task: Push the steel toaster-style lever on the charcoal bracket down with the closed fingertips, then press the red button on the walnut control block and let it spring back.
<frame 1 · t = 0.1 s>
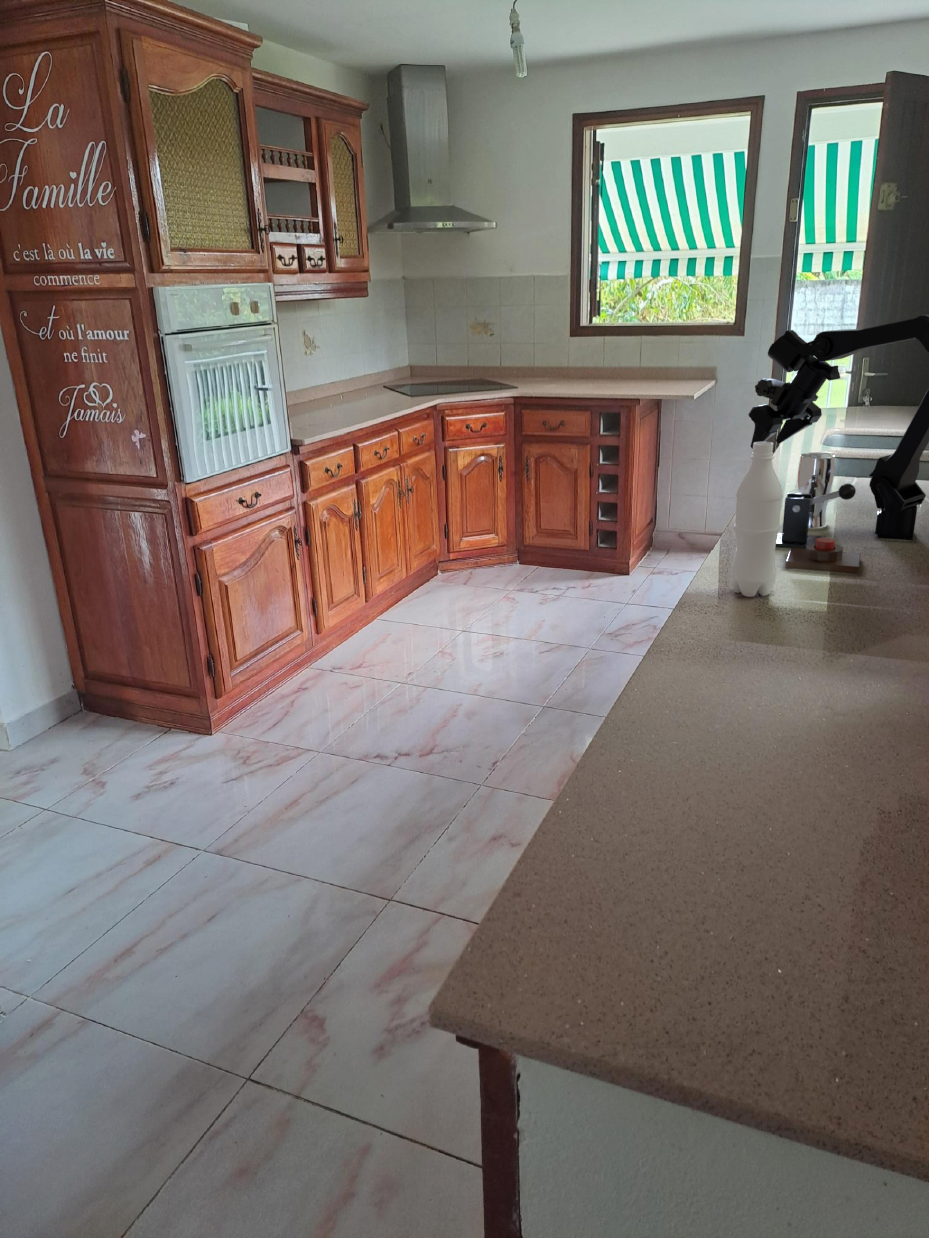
hand: (765, 445, 193), 15 cm above the counter, tool tilted 35°, fingers open, 9 cm apart
toaster lever: (822, 498, 168), point 10 cm above the counter, hinge at 20.0°
toaster button: (824, 544, 158), point 4 cm above the counter, slide at 0.1 cm
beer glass: (810, 527, 185), on the counter
control block: (822, 565, 160), on the counter
water bottle: (751, 593, 148), on the counter
toaster bracket: (794, 545, 173), on the counter
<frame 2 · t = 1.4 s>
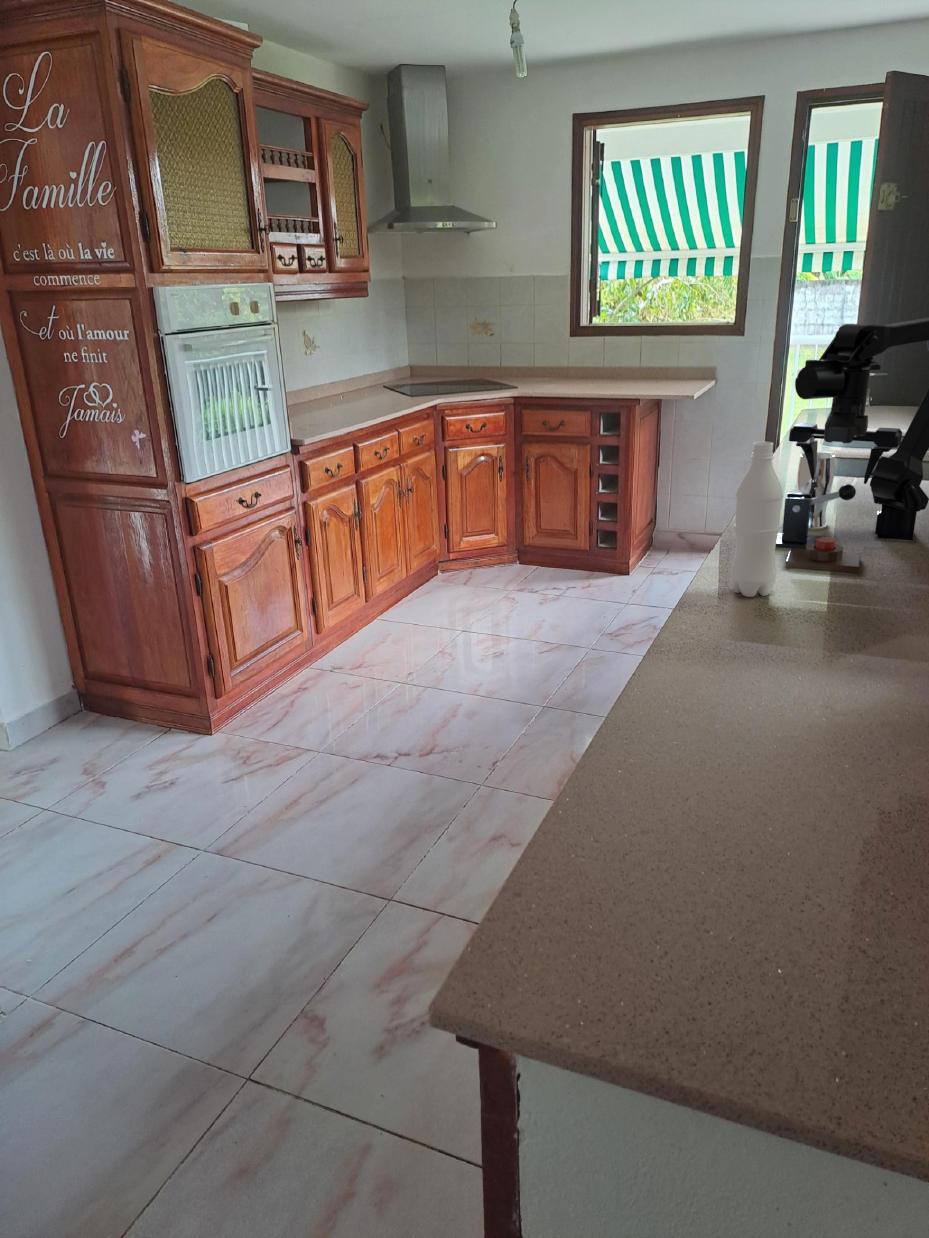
hand: (838, 481, 166), 13 cm above the counter, tool pointing down, fingers open, 9 cm apart
toaster lever: (822, 498, 168), point 9 cm above the counter, hinge at 19.2°
everything else where it was.
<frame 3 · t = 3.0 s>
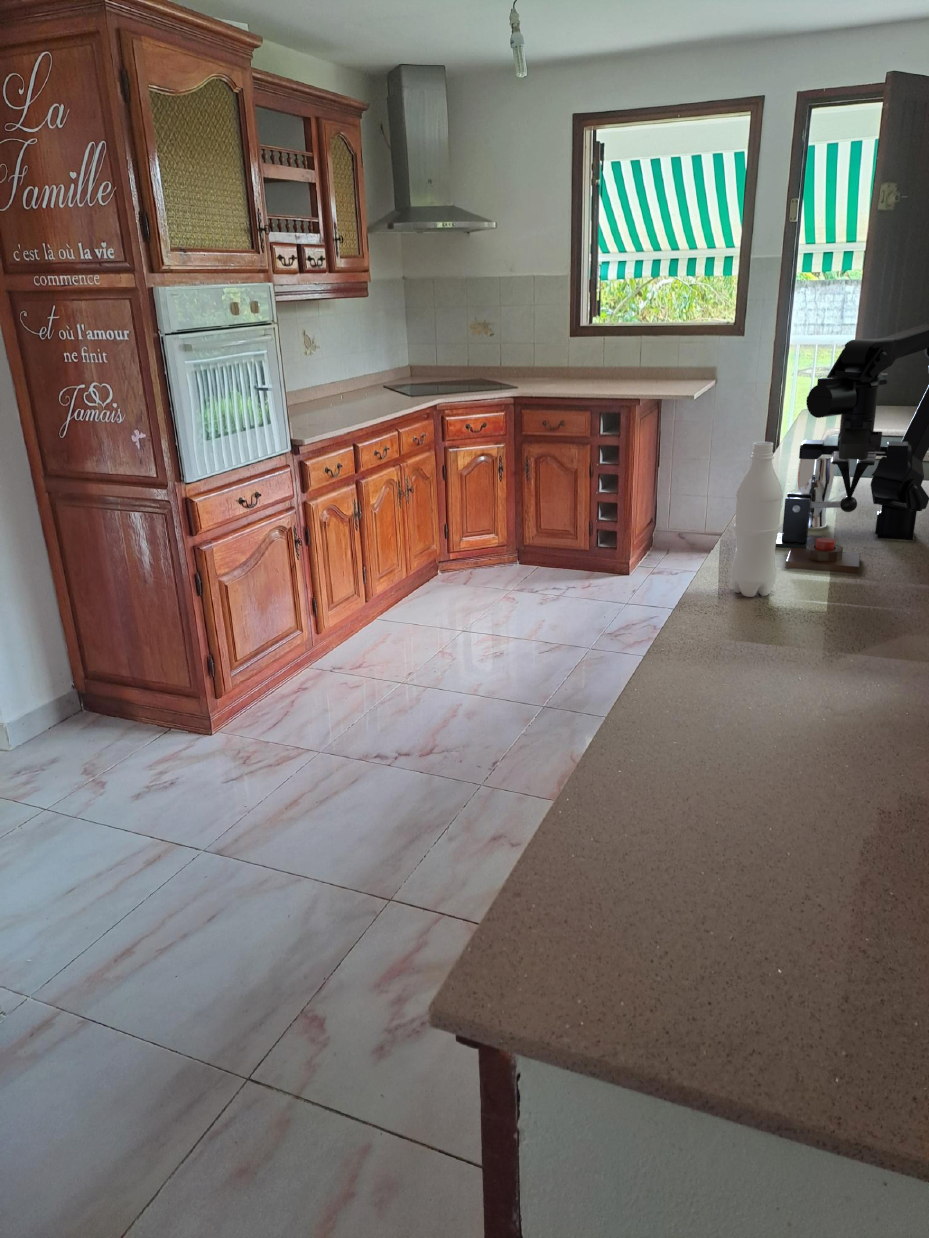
hand: (849, 496, 166), 10 cm above the counter, tool pointing down, fingers closed
toaster lever: (823, 504, 168), point 8 cm above the counter, hinge at 4.3°, touching gripper
everything else where it was.
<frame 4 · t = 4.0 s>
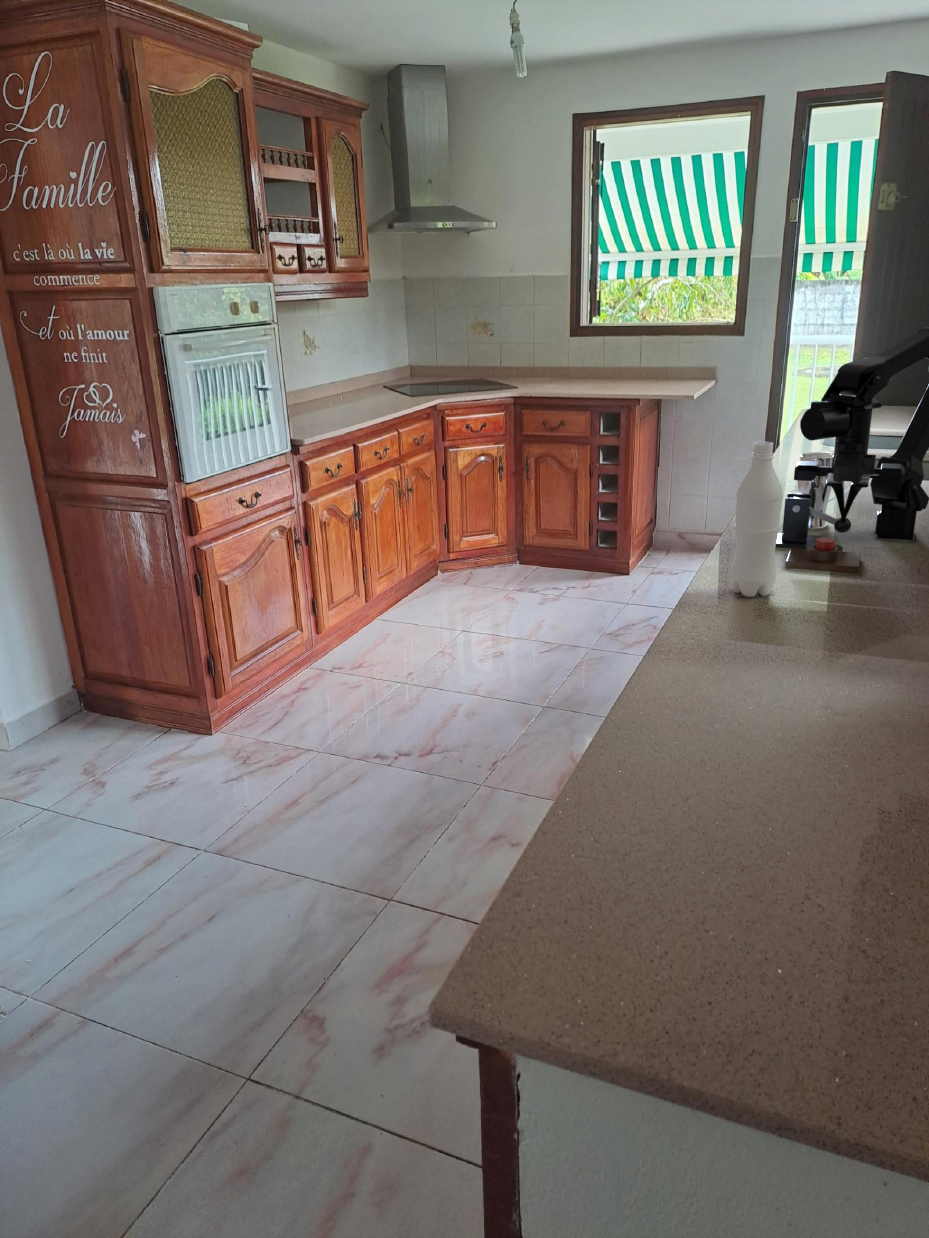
hand: (843, 517, 167), 6 cm above the counter, tool pointing down, fingers closed, pressing on toaster lever
toaster lever: (820, 515, 169), point 6 cm above the counter, hinge at -22.2°, touching gripper
everything else where it was.
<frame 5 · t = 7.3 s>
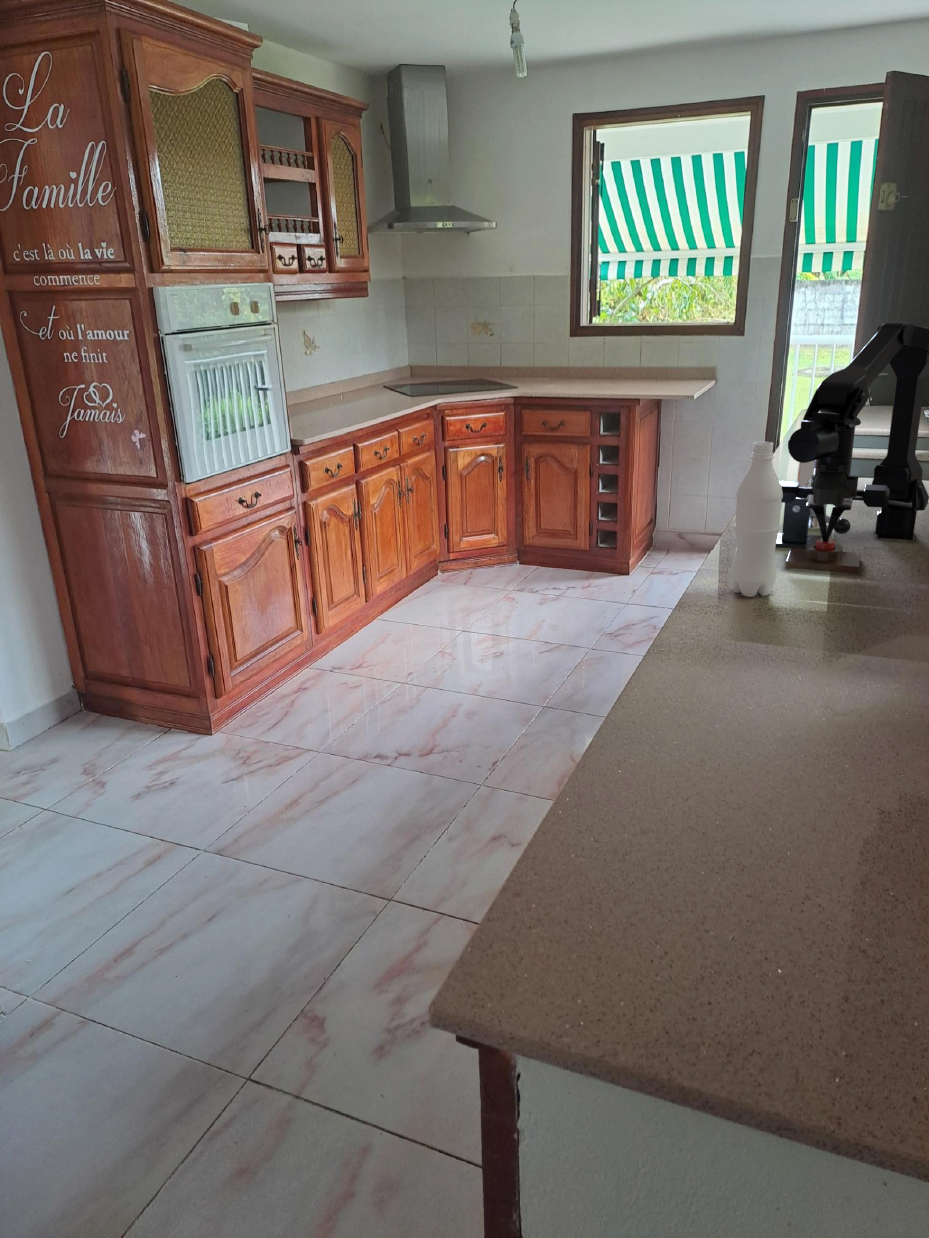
hand: (825, 541, 158), 5 cm above the counter, tool pointing down, fingers closed, pressing on toaster button
toaster lever: (819, 515, 169), point 6 cm above the counter, hinge at -23.8°
toaster button: (824, 545, 158), point 4 cm above the counter, slide at -0.1 cm, touching gripper
everything else where it was.
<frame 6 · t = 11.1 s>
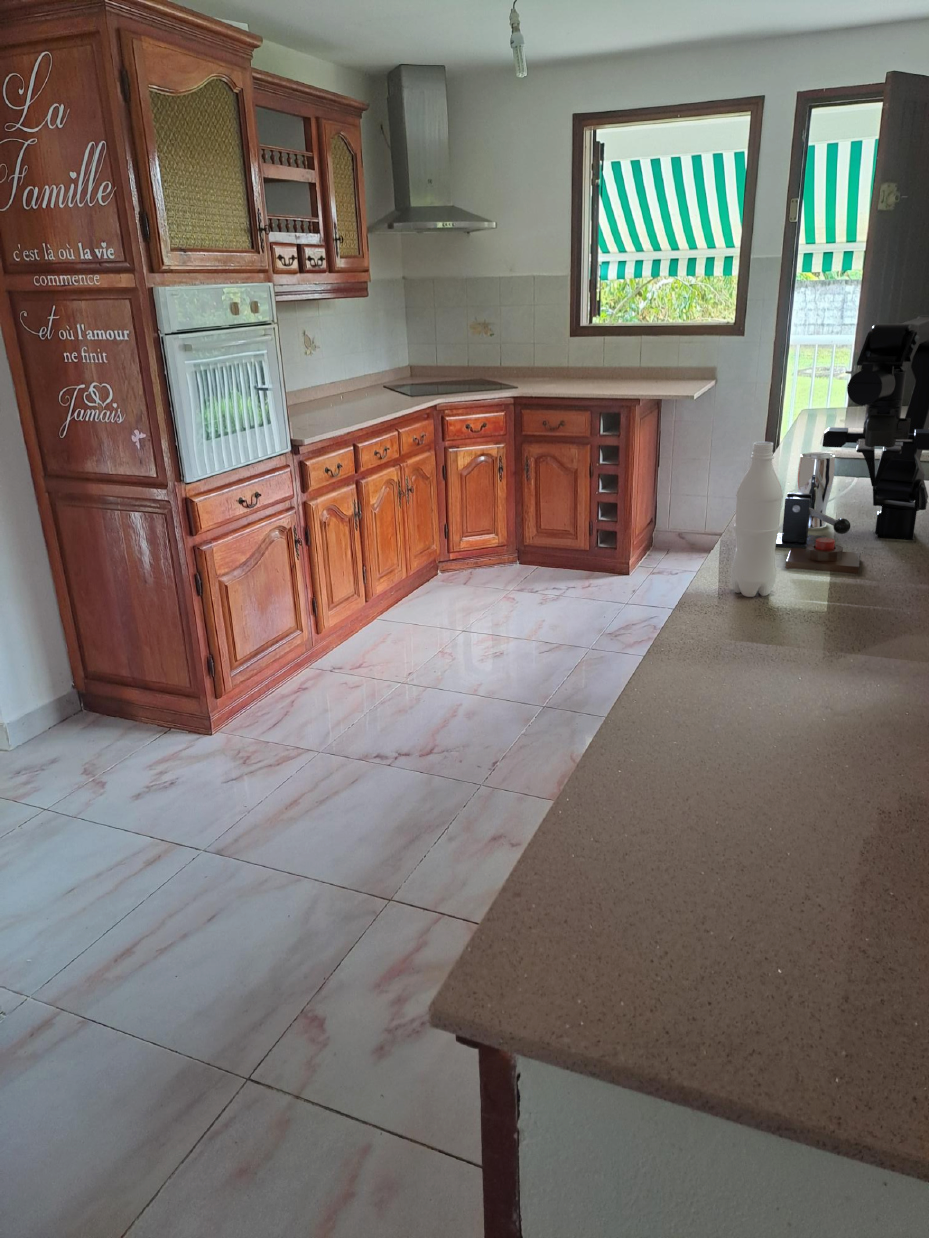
hand: (874, 486, 160), 13 cm above the counter, tool pointing down, fingers closed
toaster button: (824, 544, 158), point 4 cm above the counter, slide at 0.1 cm
everything else where it was.
at the end: toaster lever at -24° (first picture: +20°); toaster button pushed in 1.1 cm at the most during the clip, back to where it started at the end; toaster button slide at 0.1 cm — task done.
